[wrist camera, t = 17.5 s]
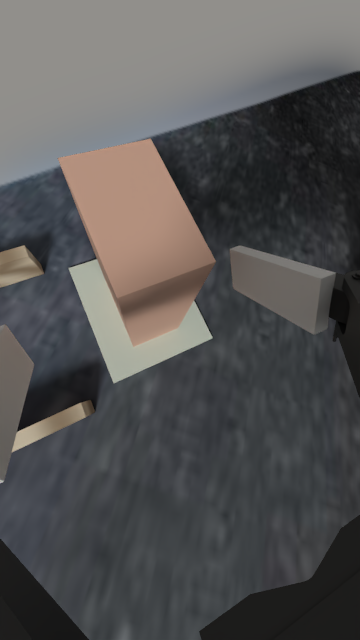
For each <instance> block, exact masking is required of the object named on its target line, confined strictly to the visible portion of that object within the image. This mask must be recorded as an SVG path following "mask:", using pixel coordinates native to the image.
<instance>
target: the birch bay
mask: <svg viewBox="0 0 360 640" xmlns="http://www.w3.org/2000/svg"><path fill="white" fill-rule="evenodd" d="M42 274H44V272H43V269H42V266H41V264H40V263H39V261H38V260H37V259H36V258H35V257H34V256H33V255H32V253H31V252H30V251H29V250H28V249H27V248H26V247H25V245H24V246H20V247H17V248H13V249H10V250H6V251H3V252H0V288H1V287H4V286H7V285H10V284H13V283H16V282H20V281H23V280H26V279H29V278H32V277H35V276H38V275H42ZM94 412H95V410H94V407H93V405H92V402H91V400H88V401H85V402H81V403H79V404H77V405H75V406H72V407H70V408H68V409H66V410H64V411H62V412H59V413H57V414H55V415H53V416H51V417H48V418H46V419H44V420H42V421H40V422H38V423H35V424H33V425H31V426H29V427H27V428H25V429H22V430H20V431H18V432H17V433H16V437H15V441H14V445H13V449H12V452H14V451H16V450H18V449H20V448H22V447H24V446H26V445H28V444H31V443H33V442H35V441H37V440H39V439H41V438H43V437H45V436H47V435H49V434H52V433H54V432H56V431H58V430H60V429H62V428H64V427H66V426H68V425H70V424H72V423H75V422H77V421H79V420H81V419H83V418H85V417H87V416H89V415H91V414H92V413H94Z"/></svg>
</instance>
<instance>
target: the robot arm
mask: <svg viewBox="0 0 360 640" xmlns="http://www.w3.org/2000/svg"><path fill="white" fill-rule="evenodd" d="M230 259H231V270H232V281H233V289H235V290H237V291H238V292H240V293H242V294H244V295H245V296H247V297H249V298H251V299H252V300H254V301H256V302H258V303H259V304H261V305H263V306H265V307H266V308H268V309H270V310H272V311H273V312H275V313H277V314H279V315H280V316H282V317H284V318H286V319H287V320H289V321H291V322H292V323H294V324H296V325H298V326H299V327H301V328H303V329H305V330H306V331H308V332H310V333H312V334H313V335H315V334H317V333H319V332H321V331H324V330H326V329H327V327H328V320H329V317H330V318H332V319H334V320H336V324H335V330H334V335H333V341H334V342H336V338H337V337H338V338H339V340H340V343H341V346H342V349H343V352H344V355H345V358H346V360H347V363H348V366H349V369H350V372H351V375H352V377H353V380H354V383H355V386H356V389H357V392H358V395H359V397H360V270H357V271H351V272H348V273H346V274H345V275H342V274H338V273H335V272H331V271H328V270H324V269H321V268H317V267H314V266H310V265H307V264H303V263H300V262H296V261H293V260H289V259H286V258H282V257H279V256H275V255H272V254H268V253H265V252H261V251H258V250H254V249H251V248H247V247H243V246H237V247H234V248H231V249H230ZM33 367H34V363H33V362H32V360H31V359H30V358H29V356H28V355H27V354H26V352H25V351H24V349H23V348H22V347H21V345H20V344H19V342H18V341H17V340H16V338H15V337H14V335H13V334H12V333H11V331H10V330H9V329H8V327H7V326H6V324H5V325H2V326H0V483H2V482H4V480H5V476H6V472H7V468H8V464H9V460H10V456H11V453H12V449H13V445H14V441H15V437H16V433H17V429H18V425H19V421H20V418H21V414H22V410H23V406H24V402H25V398H26V394H27V390H28V387H29V383H30V379H31V375H32V371H33ZM199 632H200V636H201V639H202V640H360V515H359V516H358V517H356V518H355V519H353V520H352V521H351V522H349V523H348V524H347V525H345V526H344V527H342V528H341V529H340V531H339V533H338V534H337V536H336V538H335V540H334V541H333V543H332V545H331V546H330V548H329V550H328V551H327V553H326V555H325V557H324V558H323V560H322V562H321V563H320V565H319V567H318V569H317V570H316V572H315V574H314V575H313V576H312V578H310V579H309V580H307V581H305V582H301V583H296V584H292V585H288V586H284V587H279V588H275V589H271V590H267V591H262V592H258V593H254V594H250V595H249V596H247V597H246V598H245V599H243V600H242V601H240V602H239V603H238V604H236V605H235V606H234V607H232V608H231V609H229V610H228V611H227V612H225V613H224V614H223V615H221V616H220V617H218V618H217V619H216V620H214V621H213V622H212V623H210V624H209V625H207V626H206V627H205V628H203V629H202V630H201V631H199ZM0 640H89V639H88V638H87V637H86V636H85V635H84V633H83V632H82V631H81V630H80V629H79V628H78V627H77V626H76V624H75V623H74V622H73V621H72V620H71V619H70V618H69V616H68V615H67V614H66V613H65V612H64V611H63V610H62V608H61V607H60V606H59V605H58V604H57V603H56V602H55V600H54V599H53V598H52V597H51V596H50V595H49V594H48V593H47V591H46V590H45V589H44V588H43V587H42V586H41V585H40V583H39V582H38V581H37V580H36V579H35V578H34V577H33V575H32V574H31V573H30V572H29V571H28V570H27V569H26V567H25V566H24V565H23V564H22V563H21V562H20V561H19V559H18V558H17V557H16V556H15V555H14V554H13V553H12V552H11V550H10V549H9V548H8V547H7V546H6V545H5V544H4V542H3V541H2V540H1V539H0Z"/></svg>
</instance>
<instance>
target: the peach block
mask: <svg viewBox="0 0 360 640" xmlns="http://www.w3.org/2000/svg"><path fill="white" fill-rule="evenodd" d="M58 160H59V163H60V165H61V168H62V170H63V173H64V176H65V178H66V181H67V183H68V186H69V188H70V191H71V193H72V196H73V199H74V201H75V204H76V206H77V209H78V211H79V214H80V217H81V219H82V222H83V224H84V227H85V229H86V232H87V235H88V237H89V240H90V242H91V245H92V247H93V250H94V253H95V255H96V258H97V260H98V263H99V265H100V268H101V270H102V273H103V276H104V278H105V281H106V283H107V285H108V288H109V290H110V292H111V295H112V297H113V300H114V302H115V304H116V307H117V309H118V311H119V314H120V316H121V319H122V321H123V323H124V326H125V328H126V330H127V333H128V335H129V338H130V340H131V342H132V345H133V347H135V346H137V345H139V344H142V343H144V342H146V341H149V340H151V339H154V338H156V337H158V336H161V335H163V334H165V333H168V332H170V331H172V330H175V329H177V328H178V327H179V326H180V324H181V322H182V320H183V319H184V317H185V315H186V313H187V312H188V310H189V308H190V306H191V305H192V303H193V301H194V299H195V298H196V296H197V294H198V292H199V291H200V289H201V287H202V285H203V284H204V282H205V280H206V278H207V277H208V275H209V273H210V271H211V270H212V268H213V266H214V264H215V263H216V261H215V259H214V257H213V255H212V253H211V251H210V249H209V248H208V246H207V244H206V242H205V240H204V238H203V236H202V234H201V232H200V231H199V229H198V227H197V225H196V223H195V221H194V219H193V217H192V216H191V214H190V212H189V210H188V208H187V206H186V204H185V202H184V201H183V199H182V197H181V195H180V193H179V191H178V189H177V187H176V185H175V184H174V182H173V180H172V178H171V176H170V174H169V172H168V170H167V169H166V167H165V165H164V163H163V161H162V159H161V157H160V155H159V153H158V152H157V150H156V148H155V146H154V144H153V142H152V140H151V139H147V140H142V141H137V142H133V143H128V144H123V145H118V146H113V147H109V148H104V149H99V150H94V151H89V152H85V153H80V154H75V155H70V156H65V157H61V158H58Z"/></svg>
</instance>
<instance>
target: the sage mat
mask: <svg viewBox="0 0 360 640" xmlns="http://www.w3.org/2000/svg"><path fill="white" fill-rule="evenodd" d="M69 271H70V273H71V276H72V278H73V281H74V283H75V286H76V288H77V291H78V294H79V296H80V299H81V301H82V304H83V306H84V309H85V311H86V314H87V317H88V319H89V322H90V324H91V327H92V329H93V332H94V334H95V337H96V339H97V342H98V345H99V347H100V350H101V352H102V355H103V357H104V360H105V362H106V365H107V368H108V370H109V373H110V375H111V378H112V380H113V383H116V382H118V381H120V380H122V379H125V378H127V377H129V376H131V375H133V374H136V373H138V372H140V371H142V370H144V369H146V368H149V367H151V366H153V365H155V364H157V363H160V362H162V361H164V360H166V359H168V358H171V357H173V356H175V355H177V354H179V353H182V352H184V351H186V350H188V349H190V348H193V347H195V346H197V345H199V344H201V343H203V342H206V341H208V340H210V339H212V338H213V337H212V335H211V333H210V331H209V329H208V327H207V325H206V323H205V321H204V319H203V317H202V315H201V313H200V311H199V309H198V307H197V305H196V303H195V301H193V303H192V305H191V306H190V308H189V310H188V312H187V313H186V315H185V317H184V319H183V320H182V322H181V324H180V326H179V327H178V328H177V329H175V330H172V331H170V332H168V333H165V334H163V335H161V336H158V337H156V338H154V339H151V340H149V341H146V342H144V343H142V344H139V345H137V346H135V347H133V345H132V342H131V340H130V338H129V335H128V333H127V330H126V328H125V326H124V323H123V321H122V319H121V316H120V314H119V311H118V309H117V307H116V304H115V302H114V300H113V297H112V295H111V292H110V290H109V288H108V285H107V283H106V281H105V278H104V276H103V273H102V270H101V268H100V265H99V263H98V260H97V259H96V260H93V261H89V262H86V263H83V264H80V265H77V266H74V267H71V268H69Z"/></svg>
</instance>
